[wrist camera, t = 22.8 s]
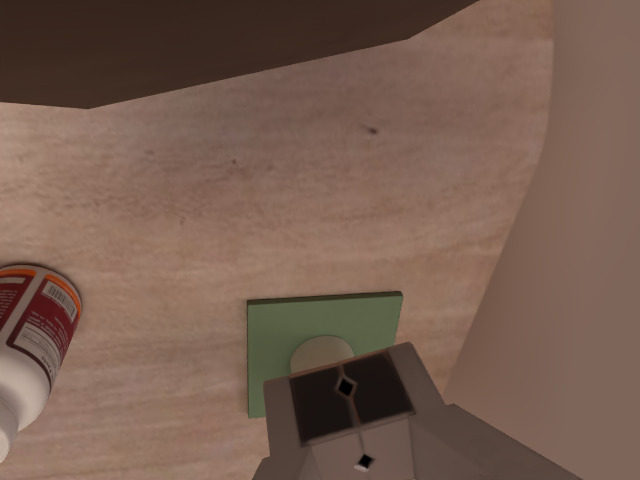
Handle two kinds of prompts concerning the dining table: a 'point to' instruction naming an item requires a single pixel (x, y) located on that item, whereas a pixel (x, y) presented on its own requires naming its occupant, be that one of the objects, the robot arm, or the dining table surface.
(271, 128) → the dining table surface
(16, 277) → the pill bottle
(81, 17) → the dark hinged box lid
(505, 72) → the dining table surface
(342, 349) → the container
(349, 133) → the dining table surface
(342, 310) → the mat
